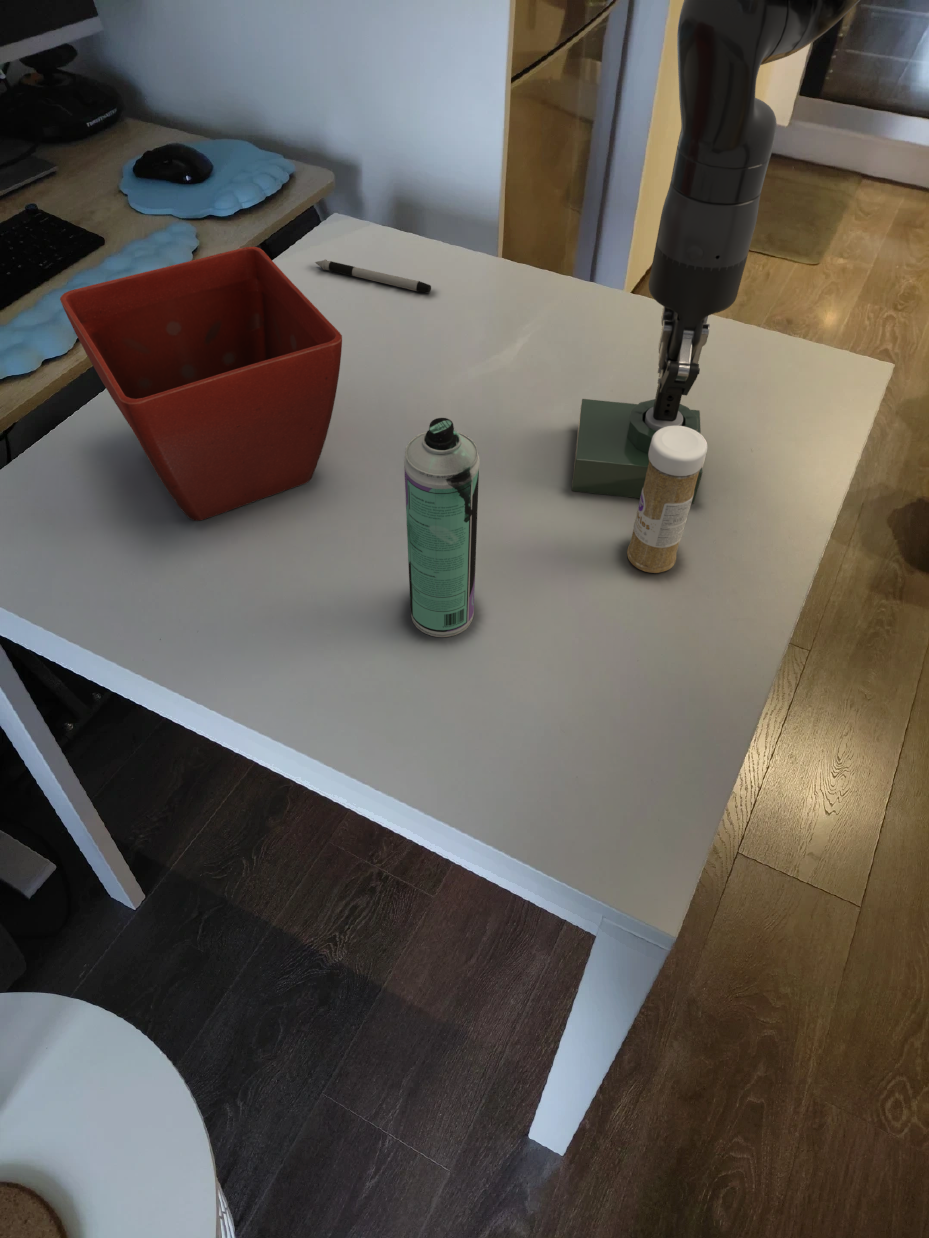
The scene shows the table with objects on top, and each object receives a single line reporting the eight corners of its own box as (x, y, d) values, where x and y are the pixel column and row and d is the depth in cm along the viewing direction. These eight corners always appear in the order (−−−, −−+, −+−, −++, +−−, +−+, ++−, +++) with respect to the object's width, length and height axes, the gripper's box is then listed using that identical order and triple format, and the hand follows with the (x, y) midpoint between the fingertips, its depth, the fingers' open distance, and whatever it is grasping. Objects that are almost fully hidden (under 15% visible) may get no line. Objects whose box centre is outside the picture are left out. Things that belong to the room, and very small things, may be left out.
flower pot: (360, 489, 89) (347, 337, 76) (173, 559, 82) (123, 404, 69) (281, 391, 99) (257, 242, 87) (109, 446, 92) (55, 293, 80)
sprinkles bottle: (619, 545, 84) (643, 427, 74) (664, 537, 85) (694, 419, 75) (637, 579, 81) (665, 461, 71) (684, 571, 82) (718, 453, 72)
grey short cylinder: (679, 424, 89) (683, 407, 88) (679, 446, 87) (683, 429, 86) (642, 420, 90) (646, 403, 88) (642, 443, 87) (645, 425, 86)
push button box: (691, 441, 95) (704, 393, 90) (693, 504, 88) (707, 455, 83) (577, 430, 96) (584, 381, 91) (571, 491, 89) (578, 442, 84)
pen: (427, 296, 113) (427, 286, 112) (312, 269, 117) (311, 259, 116) (432, 291, 114) (432, 281, 113) (317, 264, 118) (316, 255, 117)
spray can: (485, 606, 79) (495, 417, 64) (451, 647, 76) (453, 458, 61) (433, 581, 81) (430, 392, 65) (398, 620, 77) (387, 431, 62)
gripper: (755, 286, 69) (705, 463, 82) (744, 209, 78) (701, 381, 91) (656, 277, 70) (622, 455, 83) (657, 202, 78) (626, 373, 91)
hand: (664, 416), depth 87 cm, fingers closed
